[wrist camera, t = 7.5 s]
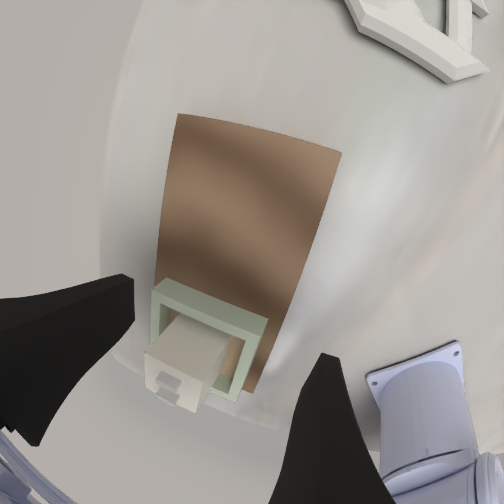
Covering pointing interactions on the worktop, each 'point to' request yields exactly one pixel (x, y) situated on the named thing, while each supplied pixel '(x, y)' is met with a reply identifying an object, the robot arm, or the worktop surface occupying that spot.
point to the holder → (218, 316)
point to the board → (242, 217)
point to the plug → (185, 362)
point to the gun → (424, 34)
